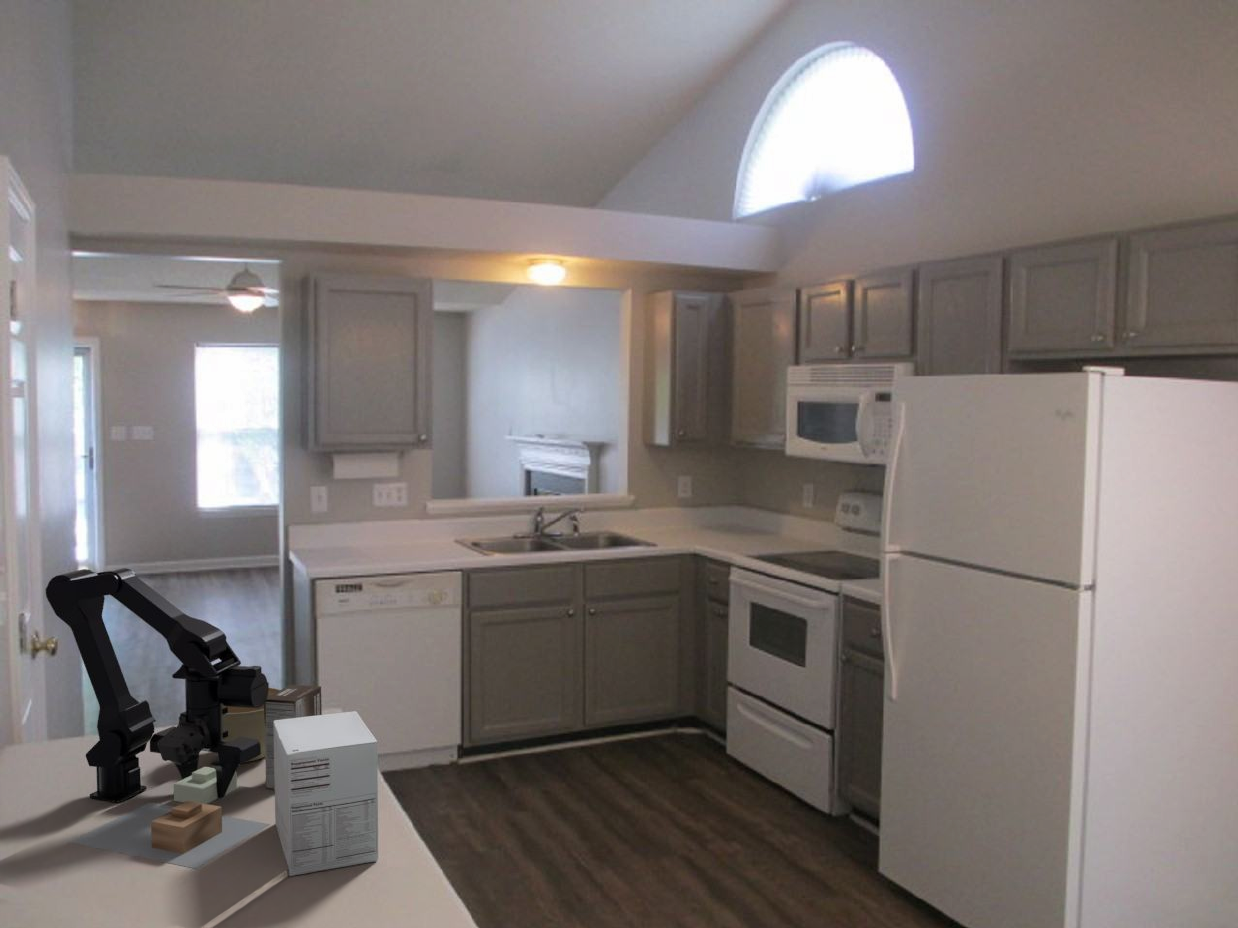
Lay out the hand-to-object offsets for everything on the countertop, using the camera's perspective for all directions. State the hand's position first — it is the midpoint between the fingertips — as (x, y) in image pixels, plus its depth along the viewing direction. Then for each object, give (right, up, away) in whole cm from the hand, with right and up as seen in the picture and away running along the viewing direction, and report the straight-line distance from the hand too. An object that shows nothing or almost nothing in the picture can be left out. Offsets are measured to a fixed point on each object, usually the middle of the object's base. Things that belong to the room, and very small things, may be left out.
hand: (205, 794), depth 172 cm
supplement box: (+25, -3, -16) cm, 30 cm away
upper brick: (0, -1, 0) cm, 1 cm away
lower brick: (+4, -1, -17) cm, 18 cm away
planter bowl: (-2, 0, +22) cm, 22 cm away
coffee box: (+12, -1, +10) cm, 15 cm away
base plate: (+1, -2, -15) cm, 15 cm away
